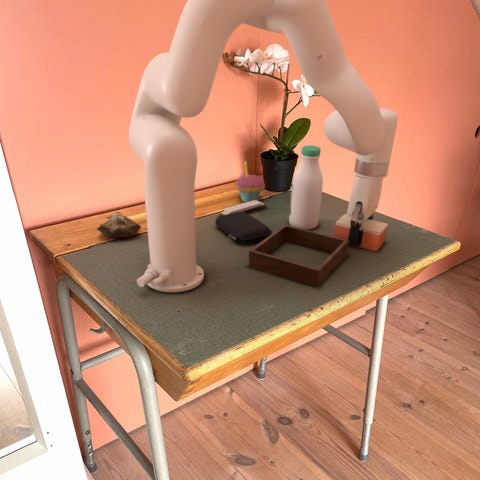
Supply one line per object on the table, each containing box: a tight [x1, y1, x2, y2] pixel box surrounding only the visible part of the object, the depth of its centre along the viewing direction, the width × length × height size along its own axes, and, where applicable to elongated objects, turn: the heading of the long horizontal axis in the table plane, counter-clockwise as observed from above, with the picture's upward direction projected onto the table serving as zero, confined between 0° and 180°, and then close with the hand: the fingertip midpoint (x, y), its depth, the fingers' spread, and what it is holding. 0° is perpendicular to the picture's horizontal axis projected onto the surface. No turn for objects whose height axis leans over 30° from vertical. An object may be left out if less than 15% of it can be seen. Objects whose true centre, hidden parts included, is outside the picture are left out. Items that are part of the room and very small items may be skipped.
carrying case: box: [214, 212, 273, 245], centre depth 125 cm, size 11×3×15 cm
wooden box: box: [248, 224, 350, 288], centre depth 113 cm, size 18×17×4 cm
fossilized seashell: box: [96, 211, 142, 239], centre depth 122 cm, size 8×7×10 cm
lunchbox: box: [334, 213, 389, 252], centre depth 122 cm, size 6×11×5 cm, turn 59°
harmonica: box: [218, 200, 267, 217], centre depth 137 cm, size 15×3×2 cm, turn 131°
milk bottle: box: [288, 144, 324, 230], centre depth 126 cm, size 8×8×20 cm
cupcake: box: [235, 158, 266, 203], centre depth 143 cm, size 9×8×12 cm
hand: (359, 238), depth 123 cm, fingers open, 6 cm apart
